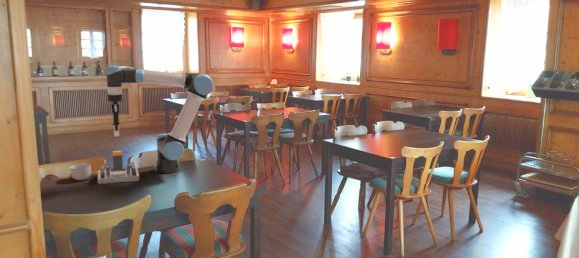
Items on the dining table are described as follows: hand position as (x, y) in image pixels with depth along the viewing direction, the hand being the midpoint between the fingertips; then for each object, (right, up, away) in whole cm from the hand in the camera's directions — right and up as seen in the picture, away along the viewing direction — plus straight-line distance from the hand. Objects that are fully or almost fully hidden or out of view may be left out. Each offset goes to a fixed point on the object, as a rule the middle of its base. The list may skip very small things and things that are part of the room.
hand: (116, 136), depth 261 cm
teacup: (-23, -25, +9) cm, 35 cm away
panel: (-3, -25, +11) cm, 27 cm away
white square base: (-3, -22, +11) cm, 24 cm away
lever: (-3, -20, +10) cm, 23 cm away
